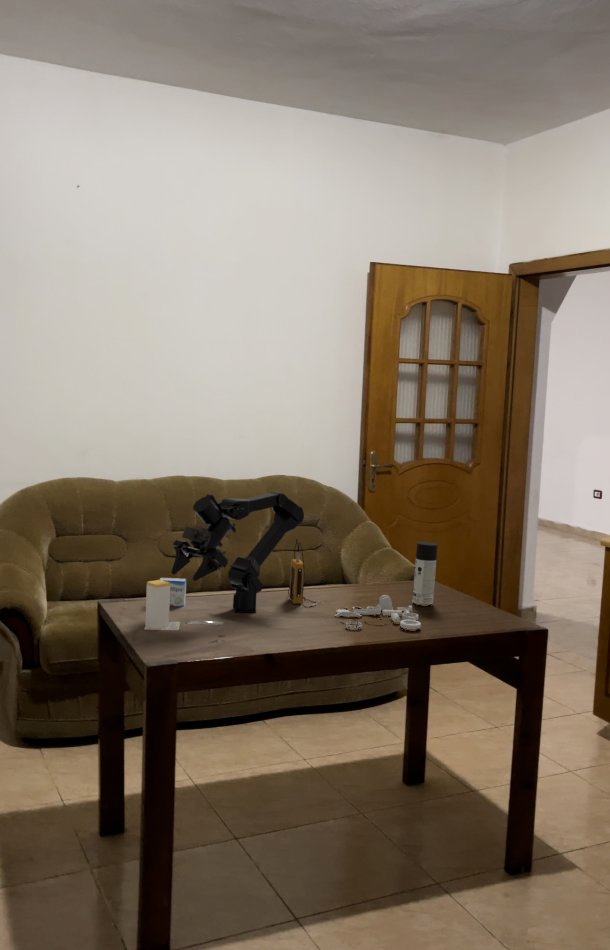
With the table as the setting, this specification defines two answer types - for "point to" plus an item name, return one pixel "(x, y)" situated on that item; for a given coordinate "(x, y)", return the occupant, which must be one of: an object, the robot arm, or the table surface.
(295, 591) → the multimeter
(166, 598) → the block
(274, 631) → the table surface
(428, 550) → the spray can
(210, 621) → the rod
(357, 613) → the robot parts
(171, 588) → the medicine box
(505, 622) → the table surface
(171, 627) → the case base
